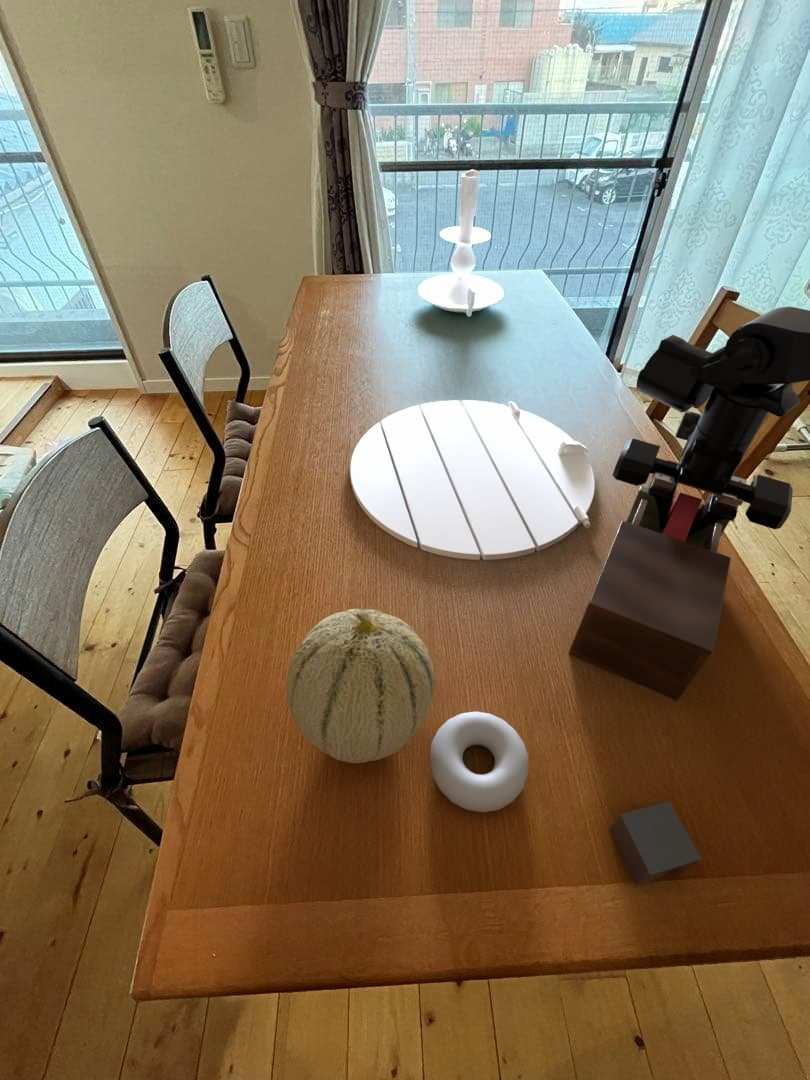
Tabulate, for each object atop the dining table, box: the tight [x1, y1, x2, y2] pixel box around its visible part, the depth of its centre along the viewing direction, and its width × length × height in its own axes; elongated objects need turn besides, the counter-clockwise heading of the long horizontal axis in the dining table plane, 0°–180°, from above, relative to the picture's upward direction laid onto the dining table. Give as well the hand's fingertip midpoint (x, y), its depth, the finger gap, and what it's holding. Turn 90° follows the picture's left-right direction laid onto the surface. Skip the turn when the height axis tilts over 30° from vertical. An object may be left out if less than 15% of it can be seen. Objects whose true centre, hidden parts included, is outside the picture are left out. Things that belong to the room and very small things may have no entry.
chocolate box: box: [661, 492, 703, 542], centre depth 70 cm, size 4×3×7 cm
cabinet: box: [568, 520, 732, 701], centre depth 65 cm, size 15×13×10 cm
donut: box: [429, 711, 529, 814], centre depth 56 cm, size 10×4×10 cm
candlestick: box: [417, 169, 505, 317], centre depth 124 cm, size 21×25×28 cm
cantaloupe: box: [285, 608, 435, 764], centre depth 55 cm, size 15×15×15 cm
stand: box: [608, 800, 702, 887], centre depth 50 cm, size 5×5×4 cm
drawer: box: [625, 484, 730, 553], centre depth 73 cm, size 18×11×8 cm, turn 151°
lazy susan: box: [349, 399, 596, 561], centre depth 89 cm, size 40×39×3 cm
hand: (673, 531), depth 71 cm, fingers closed on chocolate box, 3 cm apart
